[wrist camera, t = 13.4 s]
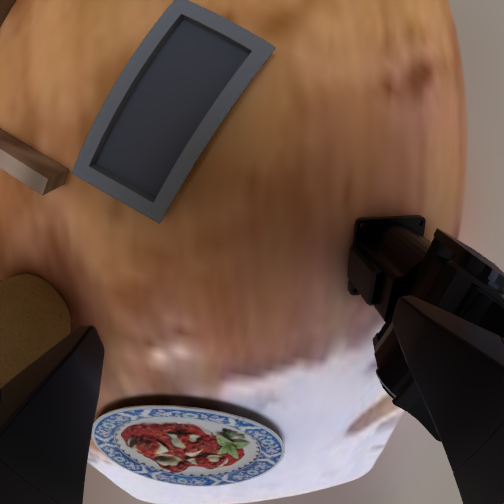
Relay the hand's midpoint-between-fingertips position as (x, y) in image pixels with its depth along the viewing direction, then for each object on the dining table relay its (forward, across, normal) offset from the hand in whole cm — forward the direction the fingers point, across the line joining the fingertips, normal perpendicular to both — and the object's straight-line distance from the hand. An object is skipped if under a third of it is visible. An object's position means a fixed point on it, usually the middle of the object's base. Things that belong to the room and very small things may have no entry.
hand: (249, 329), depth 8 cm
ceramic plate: (+14, +9, +32) cm, 36 cm away
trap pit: (+13, +4, -7) cm, 15 cm away
